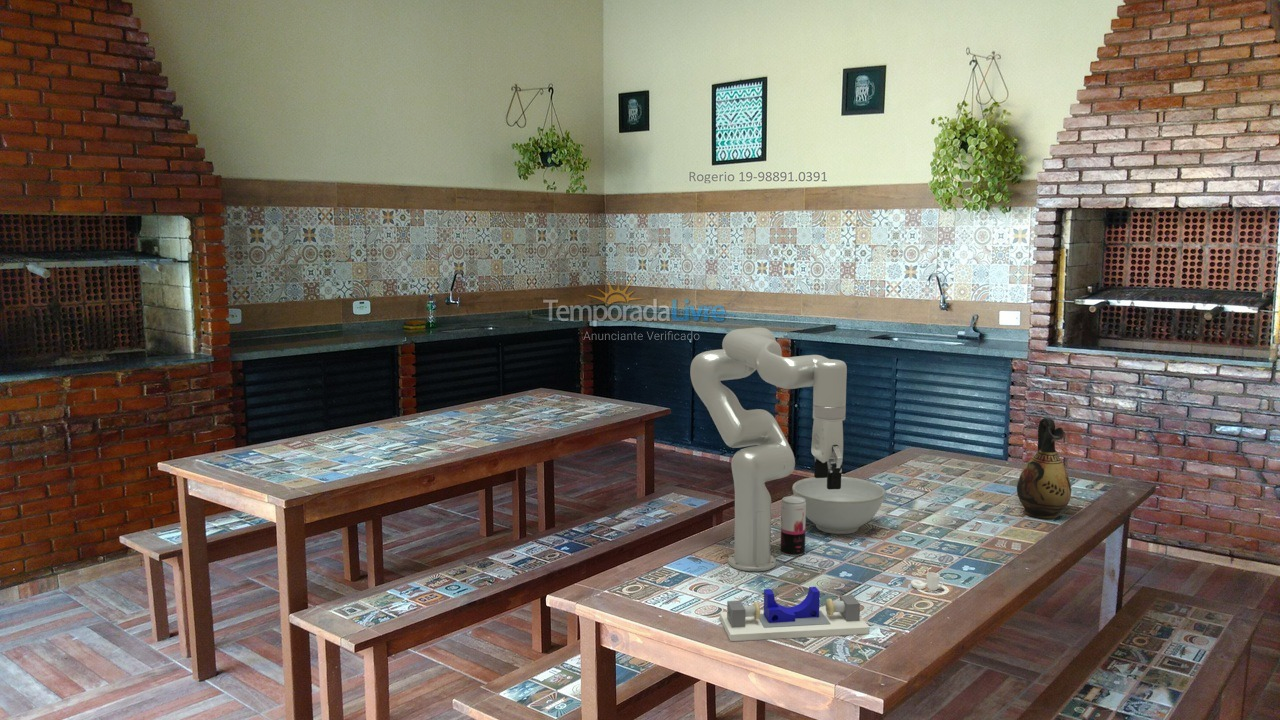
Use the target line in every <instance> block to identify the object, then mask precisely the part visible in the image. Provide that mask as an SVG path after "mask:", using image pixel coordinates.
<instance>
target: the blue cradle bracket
mask: <svg viewBox="0 0 1280 720" xmlns="http://www.w3.org/2000/svg"><path fill="white" fill-rule="evenodd" d="M820 598H821V591H820V590H819V589H818V588H817V587H816V586H809V587H808V592H807V595H806V597H805V598H804V599H803V600H802V601H801V602H800V603H797V604H796V605H793V606H785V605H781V604H779V603H778V602H776V599H775V594H774V592H773V590H772V589H771V588H767V589H763V610H764V616H765V618H766V619H767V621H768V622H769V623H777V622H794V621H795V619H796V618H813V617H819V607H820V604H821V603H820Z"/></svg>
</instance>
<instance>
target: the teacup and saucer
mask: <svg viewBox="0 0 1280 720" xmlns="http://www.w3.org/2000/svg"><path fill="white" fill-rule="evenodd" d="M925 576H926V580H925V581H926V582H924V581H921V580H919V579H912V580H911V581H910V586H911V587H913V588H914V589H916V590H917V591H918V592H920V593H922V594H925V595H931V596H942V595H943V596H944V595H946V594H948V593H950V589H949V588H948V587H947V586H946V585H944V583H945V578H944V577H942V576H941V574H939V573H937V572H927V573H926V575H925ZM940 579H942V580H943V581H942V583H940ZM926 587H927V590H930V591H937V590H938V589H940V588H942V589H943V590H944V591H943V592H940V593H937V592H935V593H934V592H927V591H924V589H926Z"/></svg>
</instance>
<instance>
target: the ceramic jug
mask: <svg viewBox="0 0 1280 720" xmlns="http://www.w3.org/2000/svg"><path fill="white" fill-rule="evenodd" d="M1037 428H1038V429H1037V452H1036V453H1035V454H1034V456H1033V457H1032V458H1031V459H1030V460H1029V461H1028V463H1026V465H1025V466H1024V468H1023V469H1022V471H1021V472H1020V475H1019V478H1018V479H1017V480H1018V481H1017V483H1016V493H1017V497H1018V500H1019V502H1020V503H1021V505H1022V506H1023V507H1024V513H1025V514H1026V515H1027V516H1028V517H1030V518H1035V519H1036V518H1037V519H1039V520H1040V519H1041V520H1050V519H1051V520H1052V519H1053V520H1054V519H1056V518H1057V516H1058V515H1059V513H1060V512H1062V510H1064V508H1066V507H1067V506H1068V505H1069V503H1070V500H1071V497H1072V484H1071V483H1072V482H1071V479H1070V476H1069V473H1068V471H1067V469H1066V466H1065V464H1064V463H1063V461H1062V459H1061V457H1060V456H1059V455H1058V452H1057V450H1056V445H1055V444H1056V441H1060V440H1063V439H1064V437H1065V432H1064V429H1063V428H1062V427H1057V428H1056V424H1055V420H1054V419H1053V418H1051V417H1043V418H1042V419H1041V420H1039V423H1038V427H1037Z"/></svg>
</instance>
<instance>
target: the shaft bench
mask: <svg viewBox="0 0 1280 720" xmlns="http://www.w3.org/2000/svg"><path fill="white" fill-rule="evenodd" d="M726 607H727V608H726V610H727V611H720V612H719V621H720V622H721V625H722V627H723V628H724V630H725V633H726V635H727V637H728V638H729V641H730V642H740V641H741V642H742V641H757V640H758V641H759V640H760V641H762V640H775V639H776V640H780V639H781V640H782V639H797V638H799V639H800V638H815V637H832V636H833V637H834V636H853V635H869V634H870V626H869V625H868V624H867V622H866V621H865V620H864V619H863V618H862V617H861V616H860V615H861V603H860V602H859V601H858V600H857V599H856V597H855V596H854V595H853V594H850V595H849V594H848V595H847V594H843V595H839V600H836V601H835V600H833V599H832V598H826V600H825V606H819V617H813V618H796V619H795V621H794V622H777V623H769V622H768V621H767V619H766V618H765V616H764V609H761V608H760V603H759V602H758V601H755V602H753V603H752V605H744V604H743V602H742V601H741V600H727V604H726Z"/></svg>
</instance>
